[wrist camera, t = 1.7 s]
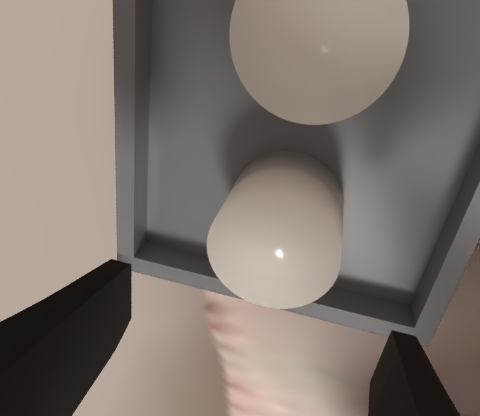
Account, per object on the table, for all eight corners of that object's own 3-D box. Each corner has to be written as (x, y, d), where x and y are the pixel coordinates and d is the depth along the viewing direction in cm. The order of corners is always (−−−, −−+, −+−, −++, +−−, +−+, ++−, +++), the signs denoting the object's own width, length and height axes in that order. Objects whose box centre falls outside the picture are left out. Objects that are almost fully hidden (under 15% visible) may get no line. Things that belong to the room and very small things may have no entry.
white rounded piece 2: (329, 259, 19) (324, 322, 16) (228, 235, 20) (201, 291, 16) (356, 163, 17) (357, 212, 13) (241, 139, 18) (213, 180, 14)
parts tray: (421, 314, 20) (428, 347, 18) (135, 244, 22) (117, 267, 20) (612, -112, 12) (654, -125, 10) (139, -165, 14) (109, -184, 12)
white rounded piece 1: (374, 102, 16) (379, 139, 12) (249, 79, 16) (220, 108, 13) (415, -46, 13) (436, -51, 10) (268, -66, 14) (240, -77, 11)
